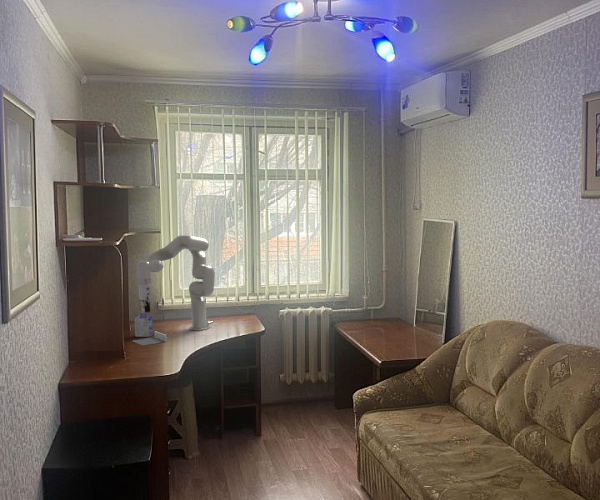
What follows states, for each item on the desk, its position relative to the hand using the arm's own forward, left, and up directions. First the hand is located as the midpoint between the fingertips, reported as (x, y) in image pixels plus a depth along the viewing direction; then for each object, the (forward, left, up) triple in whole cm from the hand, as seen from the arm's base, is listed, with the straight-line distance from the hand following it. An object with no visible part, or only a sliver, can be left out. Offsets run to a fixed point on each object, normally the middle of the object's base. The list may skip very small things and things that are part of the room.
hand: (145, 311), depth 357 cm
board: (0, 0, -19) cm, 19 cm away
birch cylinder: (0, 0, -1) cm, 1 cm away
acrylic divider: (-9, 0, -19) cm, 21 cm away
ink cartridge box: (-5, -17, -19) cm, 26 cm away
